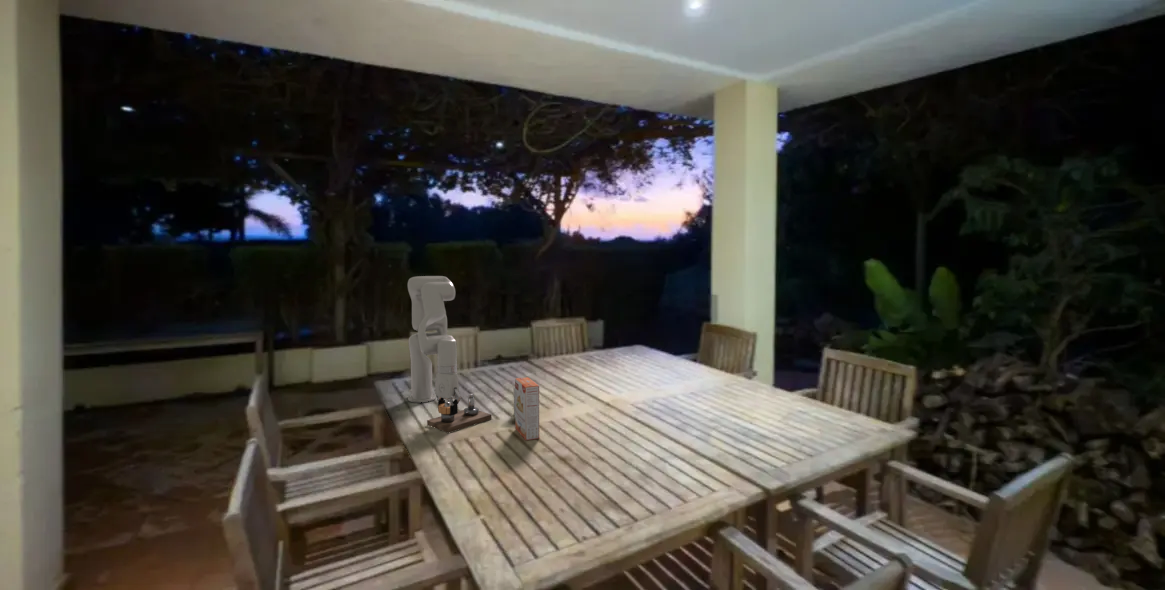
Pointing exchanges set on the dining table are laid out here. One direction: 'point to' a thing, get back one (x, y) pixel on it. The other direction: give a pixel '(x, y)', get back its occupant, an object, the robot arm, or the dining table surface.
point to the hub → (471, 407)
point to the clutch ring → (443, 409)
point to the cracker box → (527, 408)
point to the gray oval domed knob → (447, 415)
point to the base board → (459, 421)
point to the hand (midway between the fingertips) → (447, 412)
